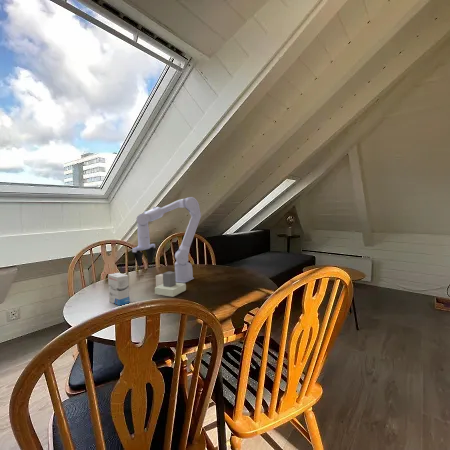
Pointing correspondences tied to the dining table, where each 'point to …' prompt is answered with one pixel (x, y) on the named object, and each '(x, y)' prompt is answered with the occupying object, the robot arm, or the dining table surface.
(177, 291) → the sage board
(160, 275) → the off-white pillar
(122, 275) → the ink box
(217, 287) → the dining table surface
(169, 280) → the grey rectangular prism
